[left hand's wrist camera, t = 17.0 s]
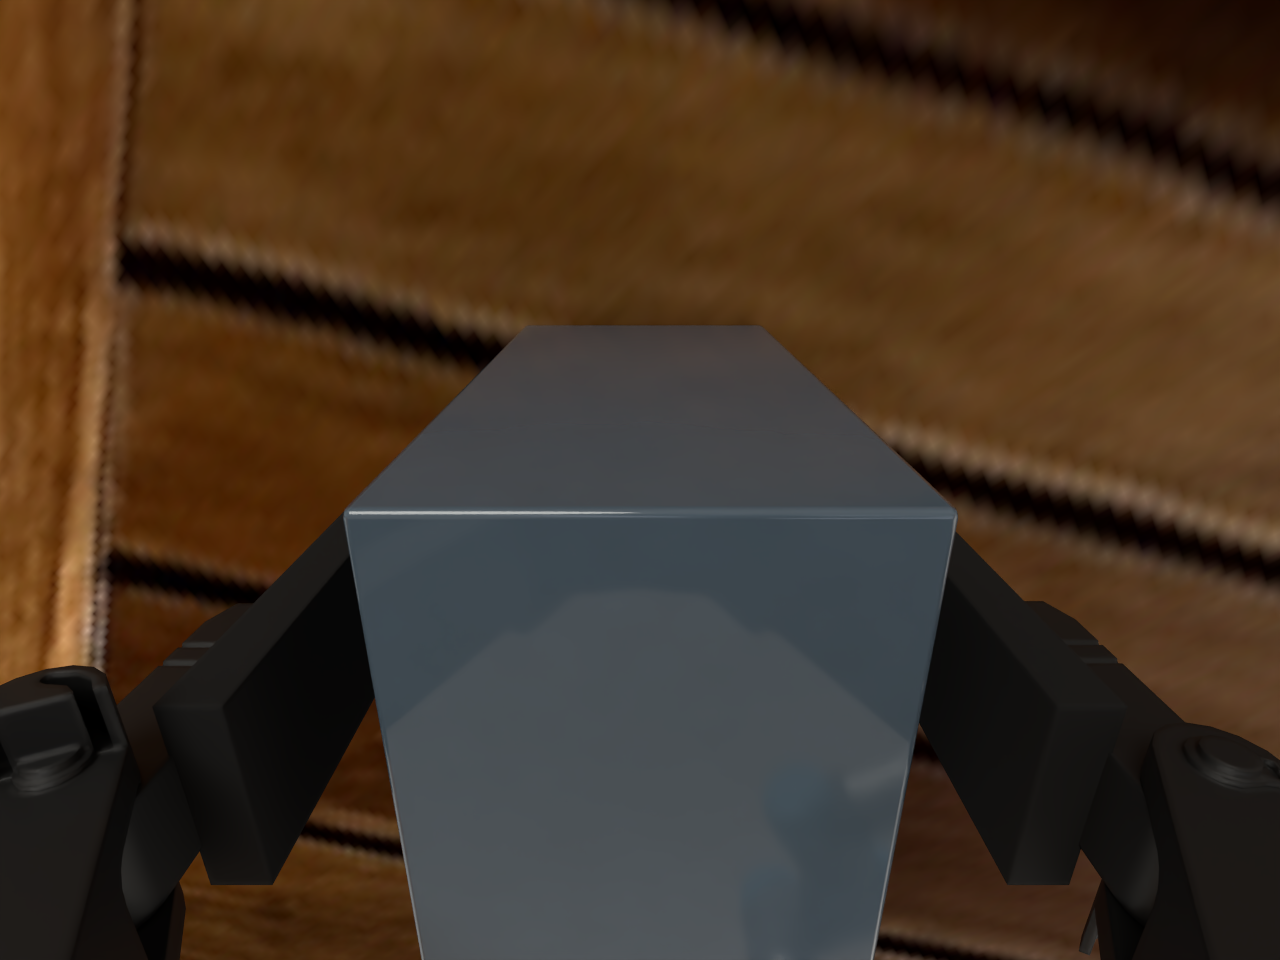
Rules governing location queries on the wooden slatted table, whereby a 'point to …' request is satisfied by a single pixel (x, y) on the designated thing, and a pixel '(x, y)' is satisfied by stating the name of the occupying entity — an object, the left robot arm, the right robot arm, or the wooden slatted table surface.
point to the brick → (648, 651)
